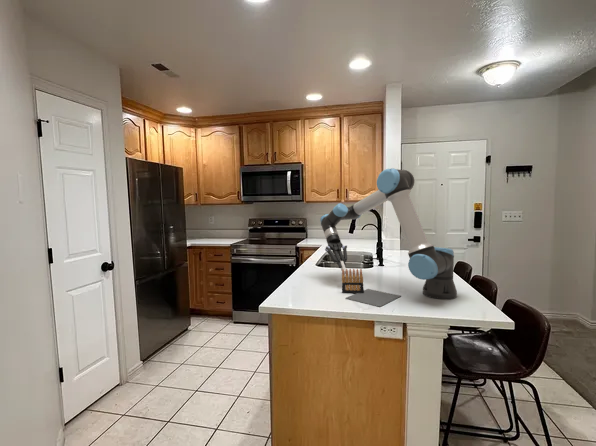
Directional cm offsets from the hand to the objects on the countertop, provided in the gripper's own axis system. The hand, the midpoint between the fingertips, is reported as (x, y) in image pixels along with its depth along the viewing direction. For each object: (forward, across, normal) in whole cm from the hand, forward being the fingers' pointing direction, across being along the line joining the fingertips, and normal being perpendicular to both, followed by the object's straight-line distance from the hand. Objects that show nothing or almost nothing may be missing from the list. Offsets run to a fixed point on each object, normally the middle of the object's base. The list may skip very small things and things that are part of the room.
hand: (344, 272), depth 163 cm
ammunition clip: (+12, 0, 0) cm, 12 cm away
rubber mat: (+19, -6, +8) cm, 22 cm away
